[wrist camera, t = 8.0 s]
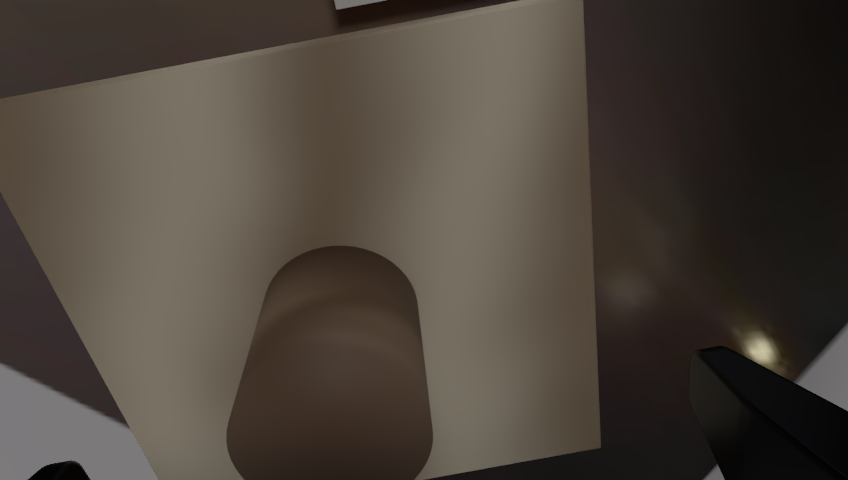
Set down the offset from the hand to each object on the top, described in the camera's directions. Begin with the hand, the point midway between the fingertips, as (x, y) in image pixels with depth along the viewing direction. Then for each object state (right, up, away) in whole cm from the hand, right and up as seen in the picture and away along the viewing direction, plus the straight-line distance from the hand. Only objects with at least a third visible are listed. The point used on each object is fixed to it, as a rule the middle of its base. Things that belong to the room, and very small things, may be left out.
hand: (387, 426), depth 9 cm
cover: (-1, +1, +6) cm, 6 cm away
